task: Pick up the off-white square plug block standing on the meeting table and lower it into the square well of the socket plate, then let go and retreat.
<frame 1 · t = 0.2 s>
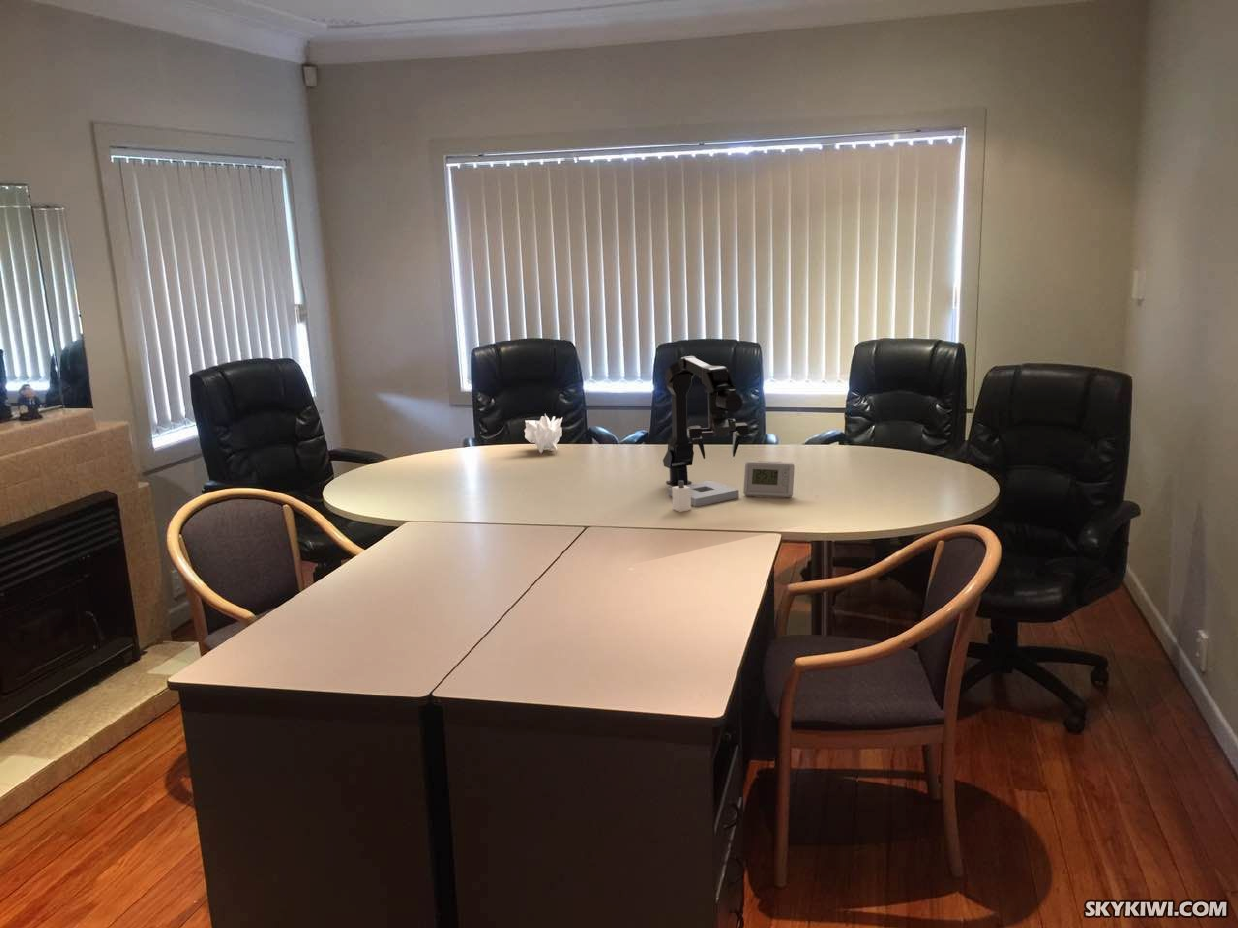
hand: (719, 457, 318), 14 cm above the table, tool pointing down, fingers open, 9 cm apart
plug: (682, 509, 316), on the table
crumpled paper: (542, 452, 408), on the table
digital clock: (769, 496, 326), on the table
socket plate: (703, 496, 328), on the table
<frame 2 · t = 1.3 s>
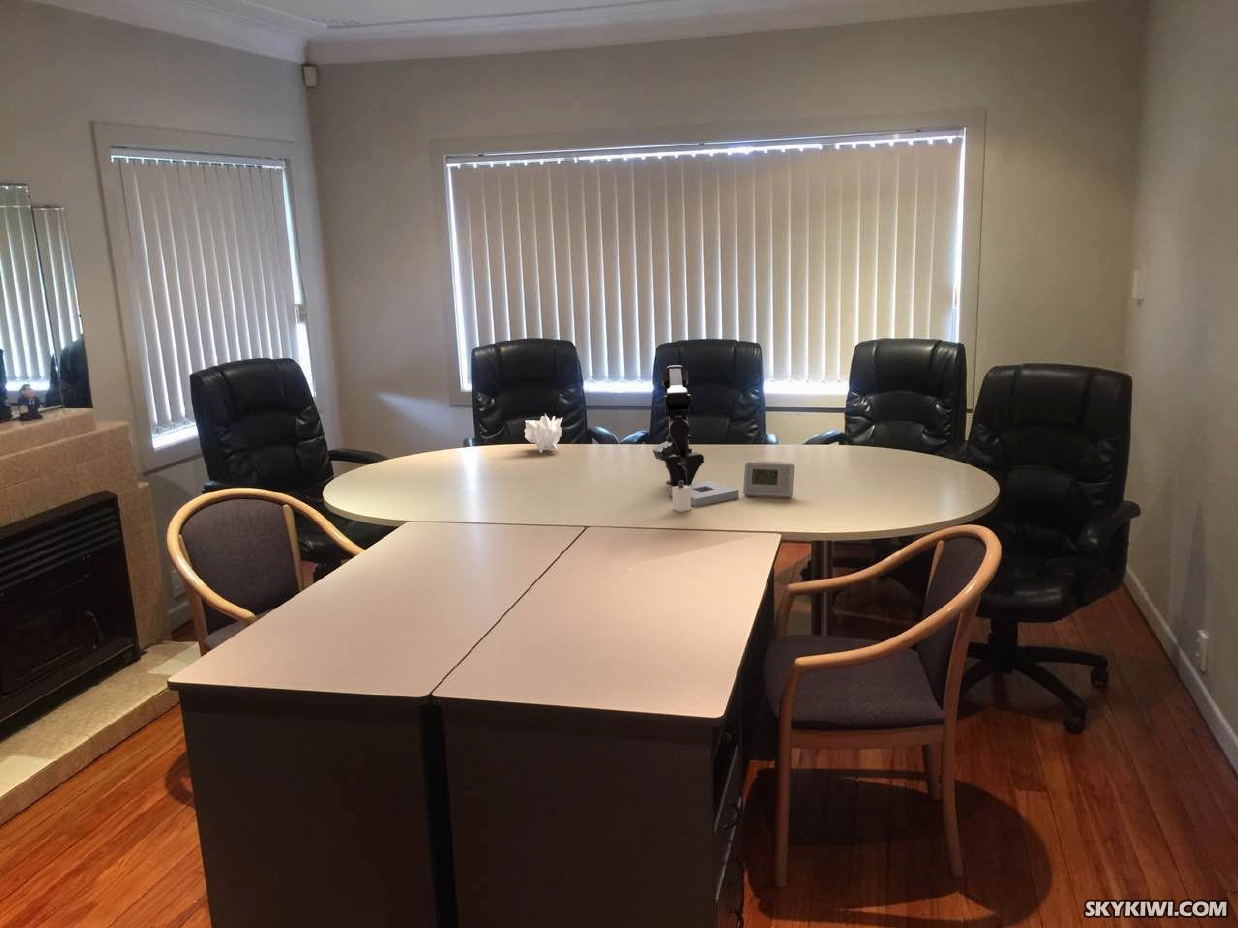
hand: (681, 482, 314), 9 cm above the table, tool pointing down, fingers open, 9 cm apart
nothing on the table moved.
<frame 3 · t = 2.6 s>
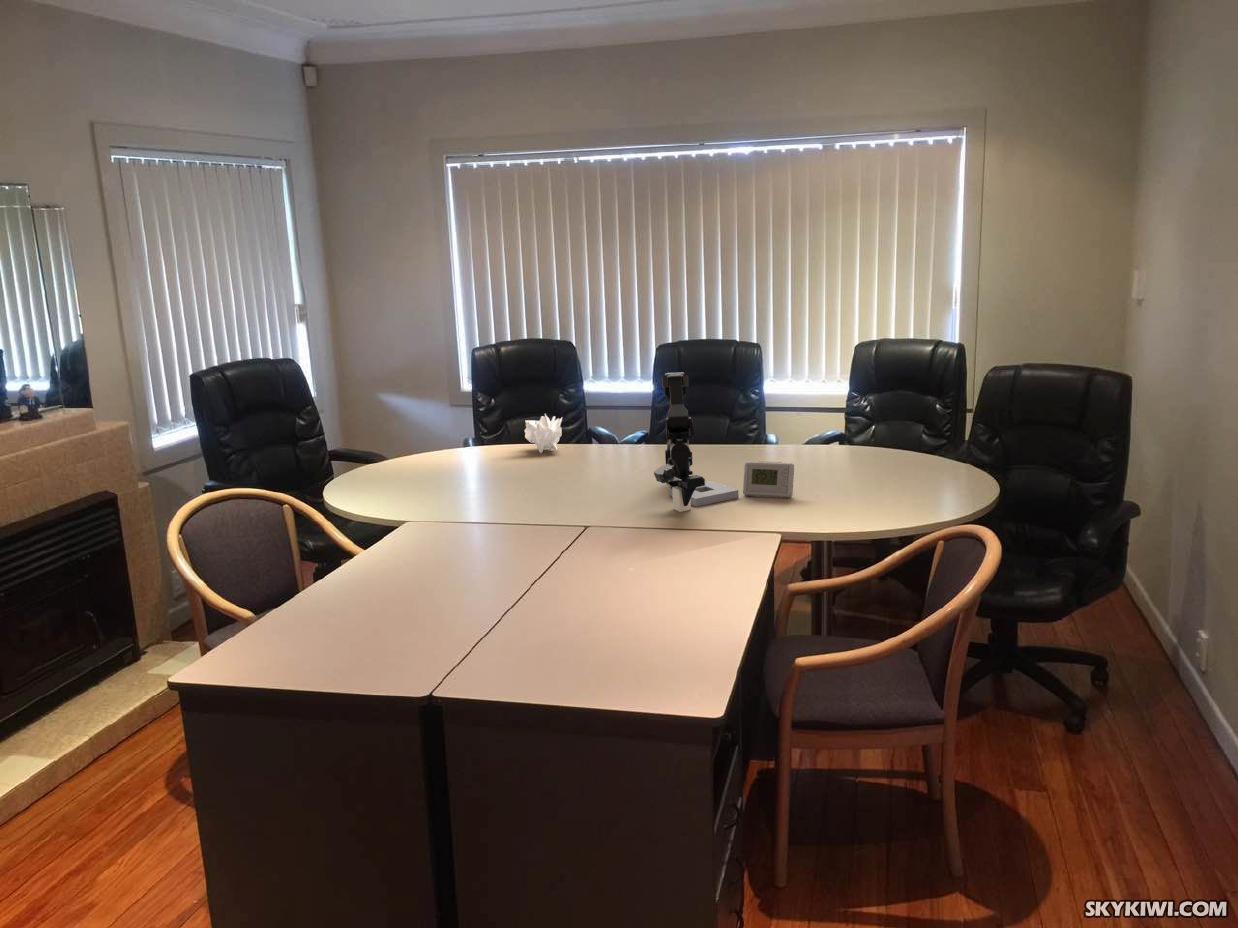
hand: (681, 504, 315), 2 cm above the table, tool pointing down, fingers closed on plug, 4 cm apart
plug: (682, 509, 316), on the table, touching gripper
everything else where it was.
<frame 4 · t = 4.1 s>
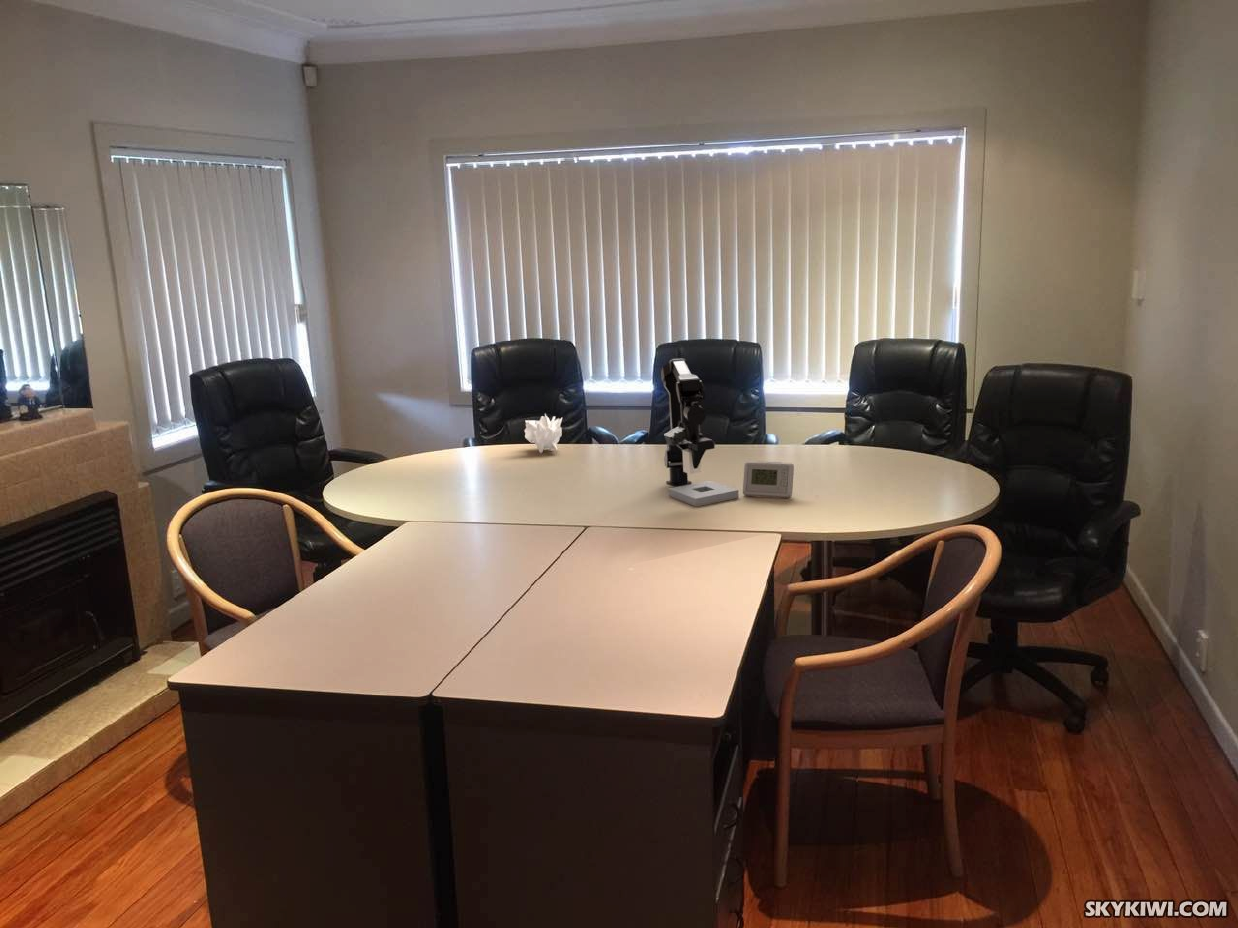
hand: (691, 467, 320), 11 cm above the table, tool pointing down, fingers closed on plug, 4 cm apart
plug: (692, 471, 321), point 10 cm above the table, touching gripper
everything else where it was.
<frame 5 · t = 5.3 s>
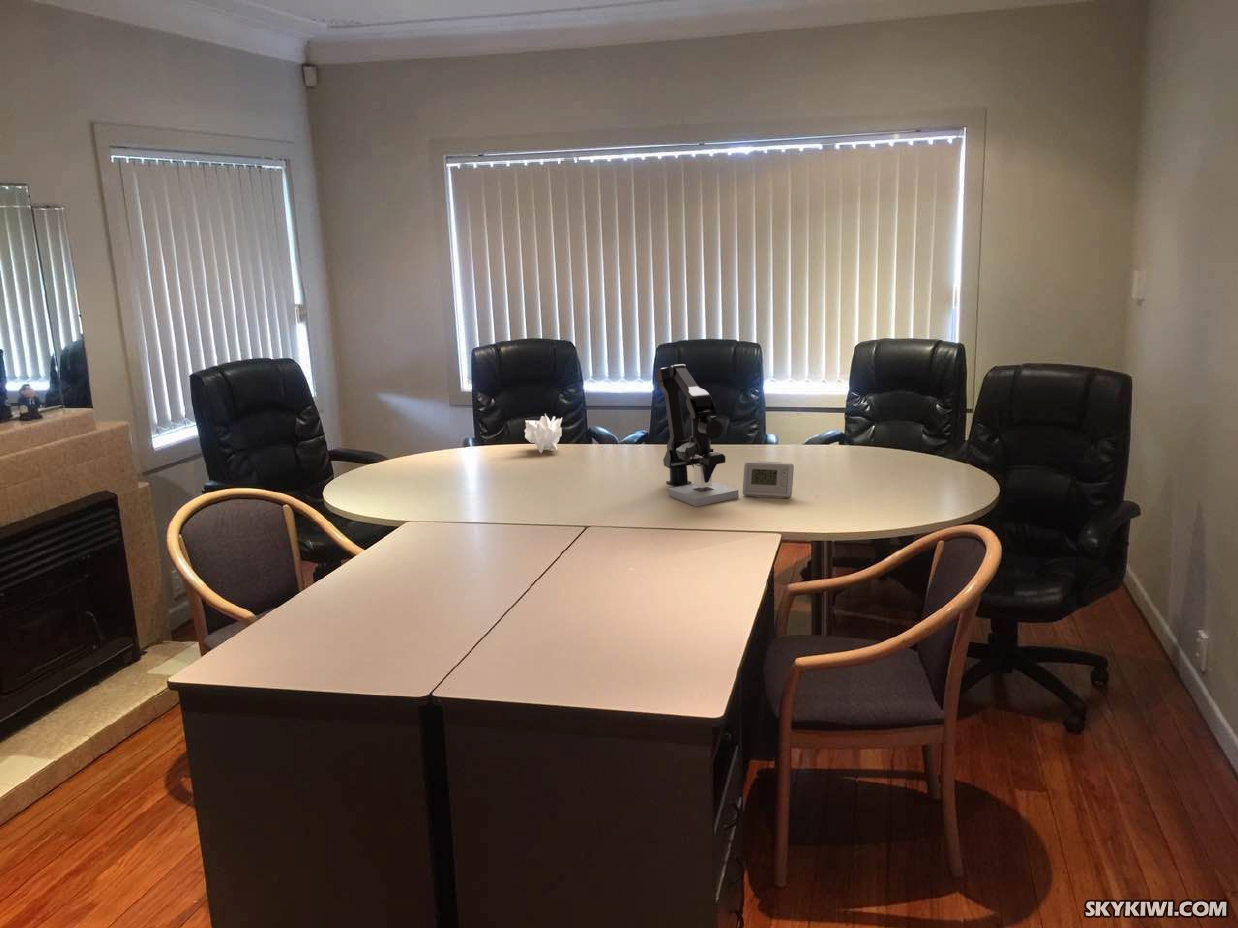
hand: (702, 481, 327), 5 cm above the table, tool pointing down, fingers closed on plug, 4 cm apart
plug: (703, 485, 328), point 4 cm above the table, touching gripper
everything else where it was.
when the fingers open (3 cm above the table, at t = 6.0 s): plug drops 1 cm, resting on socket plate.
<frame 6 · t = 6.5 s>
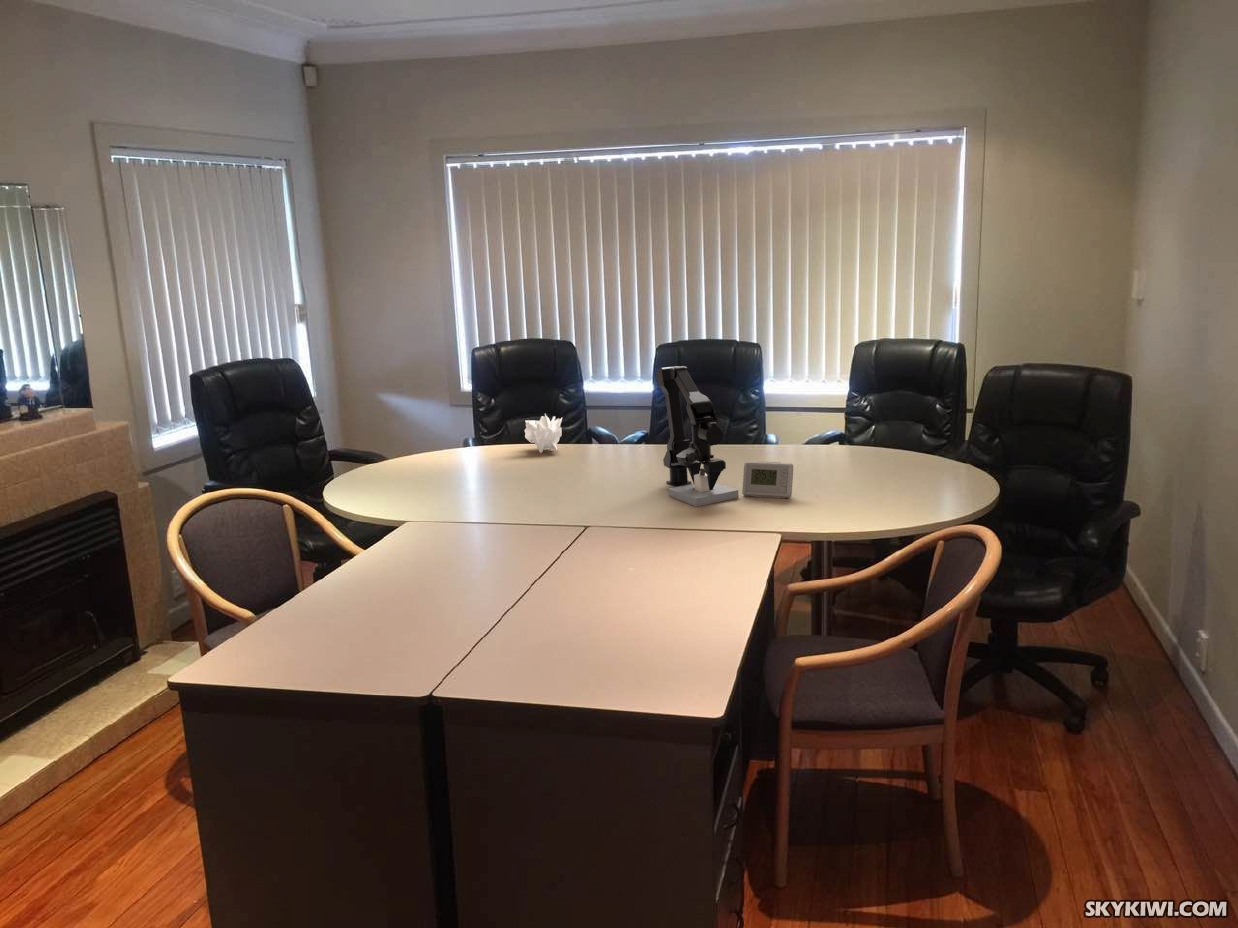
hand: (703, 487, 328), 3 cm above the table, tool pointing down, fingers open, 9 cm apart
plug: (703, 496, 328), resting on socket plate
everything else where it was.
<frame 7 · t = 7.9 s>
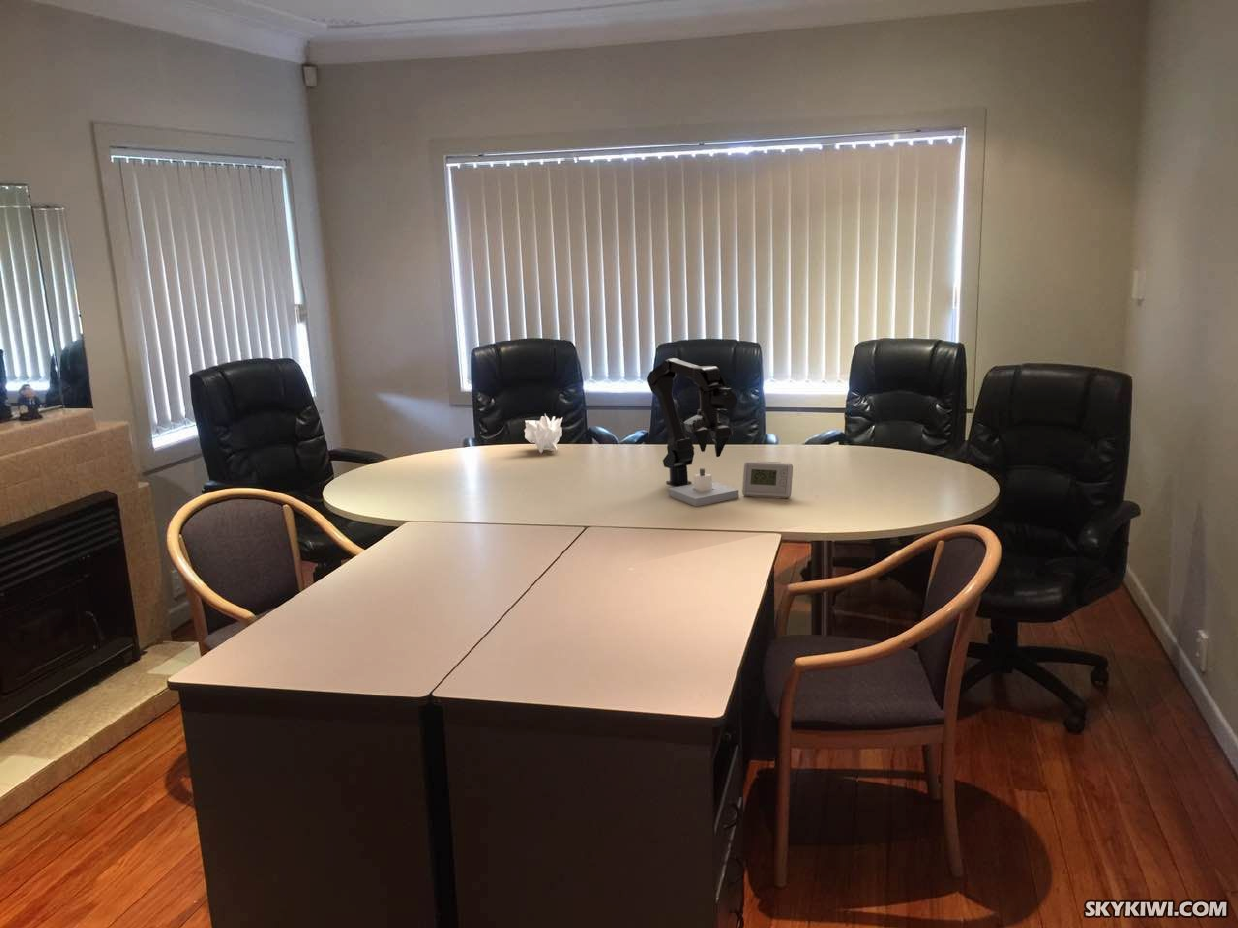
hand: (710, 454, 330), 13 cm above the table, tool pointing down, fingers open, 9 cm apart
nothing on the table moved.
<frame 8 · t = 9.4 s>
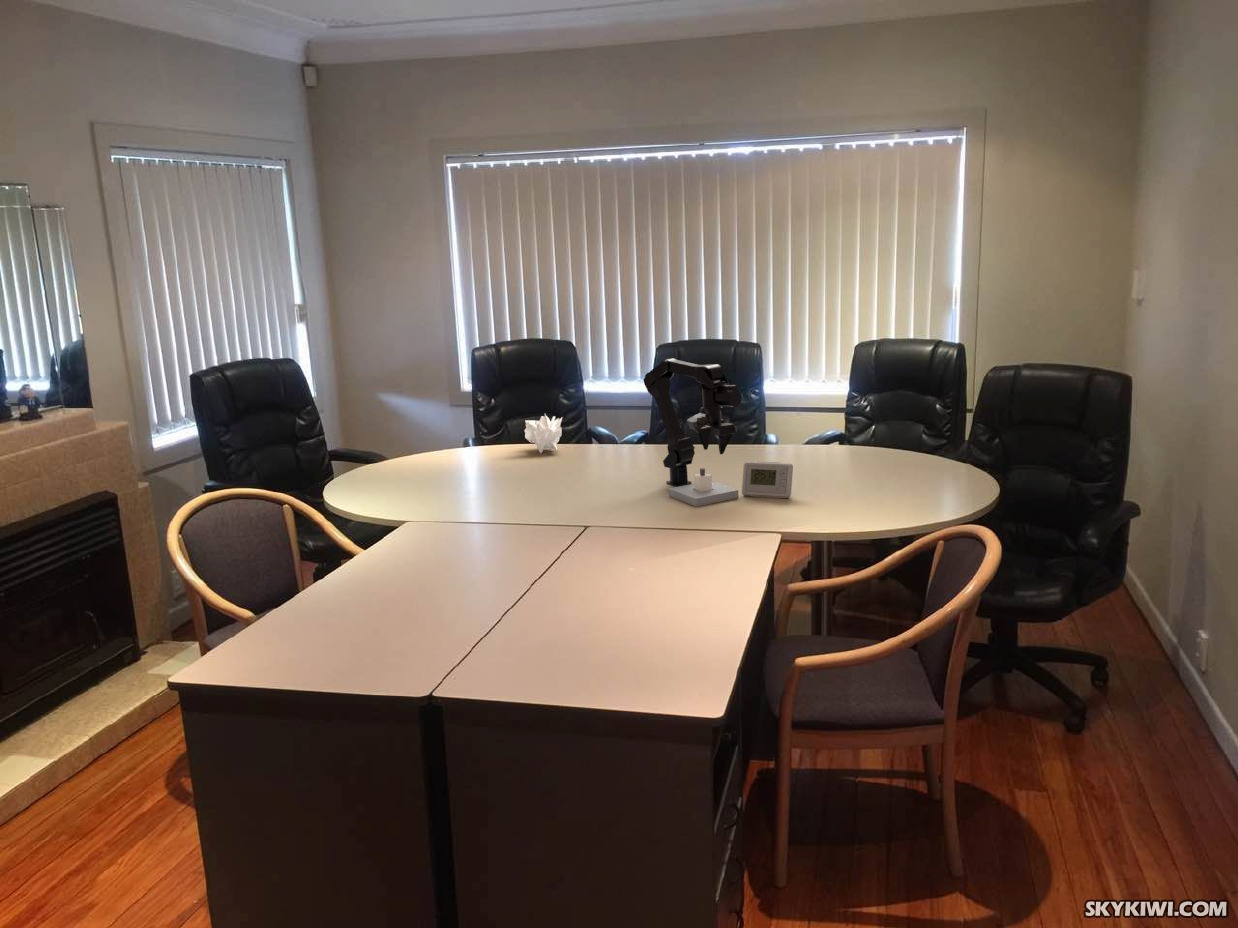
hand: (713, 451, 332), 13 cm above the table, tool pointing down, fingers open, 9 cm apart
nothing on the table moved.
at the end: plug 0.1 cm off-centre on the socket plate, point 0.2 cm above the socket plate's base; plug tilted 0°; the gripper is holding nothing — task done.
